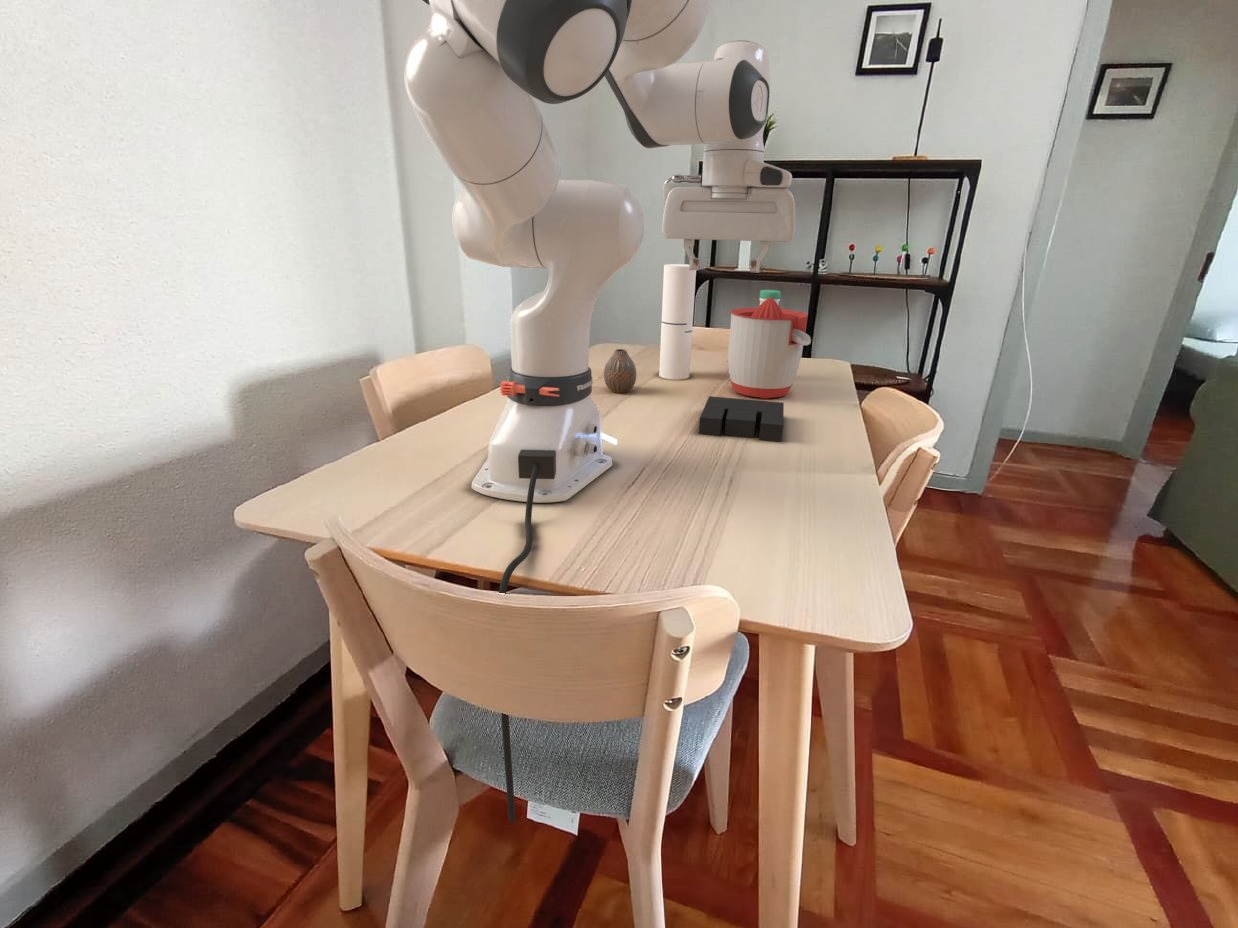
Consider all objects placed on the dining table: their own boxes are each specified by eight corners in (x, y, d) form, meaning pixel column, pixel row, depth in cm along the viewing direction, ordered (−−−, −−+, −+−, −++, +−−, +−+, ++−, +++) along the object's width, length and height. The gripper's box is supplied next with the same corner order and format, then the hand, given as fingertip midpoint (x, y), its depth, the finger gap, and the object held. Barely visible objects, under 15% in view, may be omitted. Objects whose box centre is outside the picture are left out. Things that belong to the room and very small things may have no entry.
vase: (637, 387, 134) (638, 347, 131) (634, 395, 128) (635, 354, 124) (605, 385, 135) (606, 346, 131) (602, 394, 128) (602, 352, 125)
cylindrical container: (654, 373, 147) (659, 264, 137) (682, 371, 149) (688, 264, 139) (665, 380, 140) (671, 266, 131) (694, 378, 142) (701, 266, 133)
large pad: (781, 442, 103) (783, 425, 102) (698, 433, 106) (699, 417, 105) (781, 417, 115) (783, 402, 114) (707, 411, 119) (709, 396, 117)
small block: (753, 437, 105) (755, 421, 103) (724, 434, 106) (725, 418, 105) (755, 427, 110) (756, 411, 109) (727, 424, 111) (728, 408, 110)
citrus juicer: (780, 408, 121) (793, 305, 113) (709, 391, 132) (716, 296, 124) (817, 394, 131) (831, 299, 124) (748, 379, 142) (757, 291, 135)
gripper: (659, 173, 91) (655, 270, 96) (801, 173, 86) (789, 275, 91) (667, 175, 96) (663, 267, 101) (800, 176, 92) (789, 272, 97)
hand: (724, 271), depth 96 cm, fingers open, 8 cm apart
